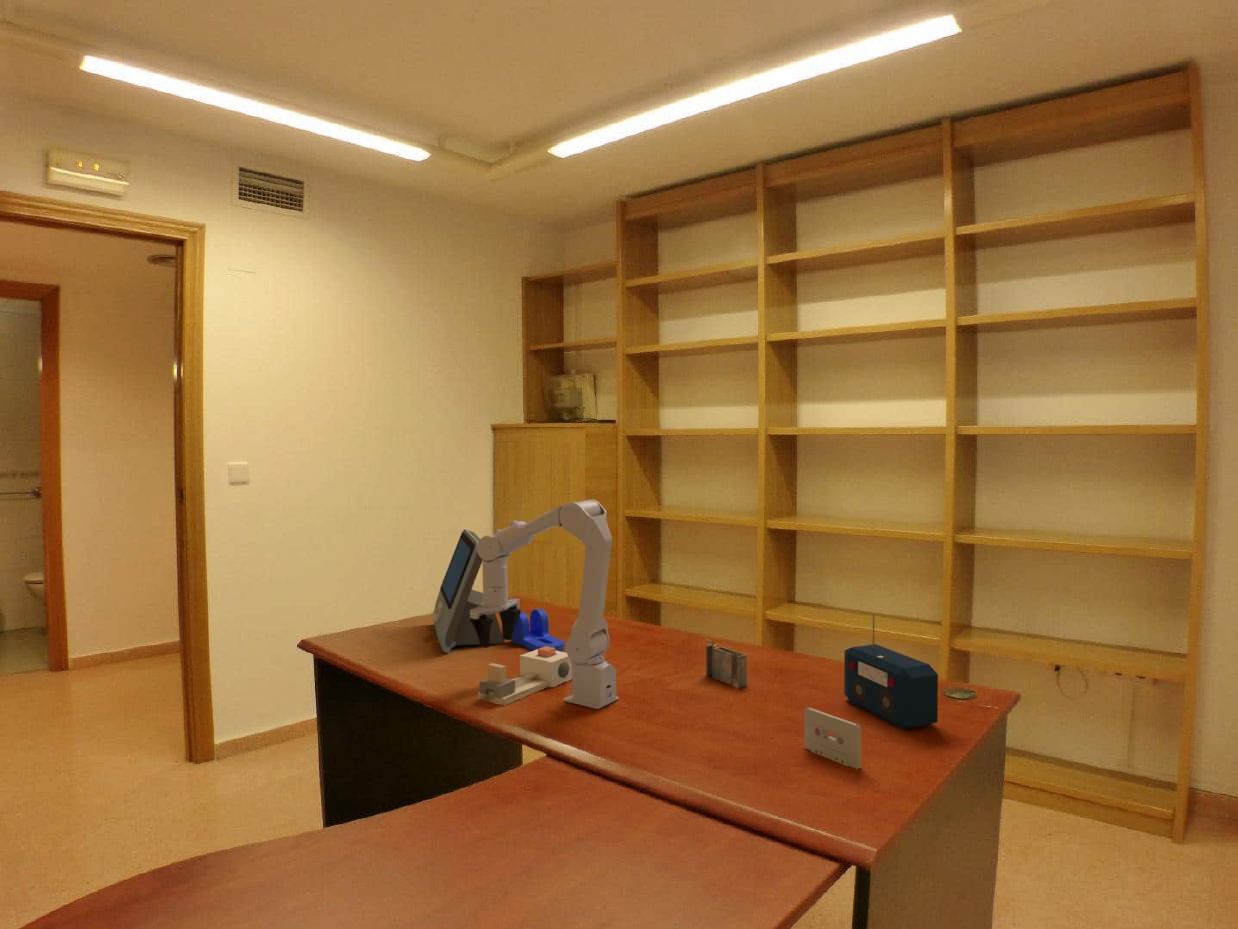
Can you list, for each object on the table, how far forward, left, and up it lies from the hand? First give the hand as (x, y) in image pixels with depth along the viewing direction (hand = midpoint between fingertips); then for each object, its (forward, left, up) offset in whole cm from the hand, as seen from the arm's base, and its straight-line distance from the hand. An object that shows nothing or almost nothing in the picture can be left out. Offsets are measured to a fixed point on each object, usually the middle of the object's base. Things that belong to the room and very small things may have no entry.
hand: (496, 643), depth 183 cm
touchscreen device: (+38, -27, -10) cm, 48 cm away
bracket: (+13, -31, -10) cm, 35 cm away
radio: (-82, -31, -10) cm, 88 cm away
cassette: (-80, -3, -10) cm, 80 cm away
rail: (-8, +2, -8) cm, 11 cm away
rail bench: (-8, +2, -10) cm, 13 cm away
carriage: (-8, +8, -8) cm, 14 cm away
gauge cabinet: (-8, -9, -10) cm, 15 cm away
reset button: (-8, -9, -4) cm, 13 cm away
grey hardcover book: (-44, -32, -10) cm, 55 cm away
